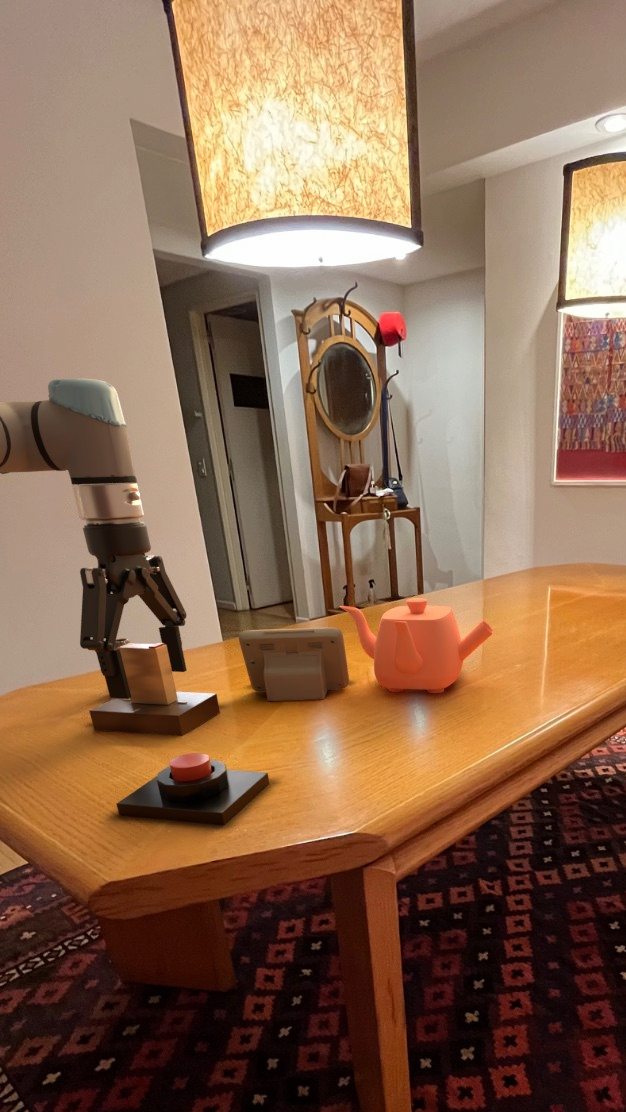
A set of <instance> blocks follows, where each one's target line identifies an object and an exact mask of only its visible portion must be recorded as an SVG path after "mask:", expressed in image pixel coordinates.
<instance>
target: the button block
mask: <svg viewBox="0 0 626 1112" xmlns="http://www.w3.org/2000/svg"><path fill="white" fill-rule="evenodd" d="M210 763H211V768H212V774H210V775H209V776H207V777H204V778H201V779H198V780H191V781H174V780H173V778H172V774H171V769H170V765H169V766H167V767H165V768H163V769H162V770H161V771H158V773H157V775H156V776H155V777H153V778H152V779H151V780H149V781H148V782H146V783H144V784H143V785H142V786H140V787H139V788H137V789H136V790H134V791H133V792H131V793H130V794H128V795H127V796H126V797H124V798H122V799H121V800H119V801H118V802H116V809H117V811H118V816H119V817H129V818H140V819H150V820H159V821H160V820H161V821H170V822H171V821H172V822H181V823H183V822H184V823H193V824H204V825H216V826H226V825H227V824H228V823H229V822H230V821H231V820H232V819H233V818H234V817H236V816H237V814H239V813H240V812H241V811H242V810H243V809H244V808H245V807H246V806H247V805H249V804H250V803H251V802H252V801H253V800H255V798H256V797H257V796H258V795H259V794H261V793H262V791H264V790H265V789H266V788H267V787H268V786H269V785H270V778H269V773H268V772H264V771H252V770H237V769H227V764H226V763H225V762H222V761H219V760H217V759H210Z"/></svg>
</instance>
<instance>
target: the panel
mask: <svg viewBox="0 0 626 1112" xmlns="http://www.w3.org/2000/svg"><path fill="white" fill-rule="evenodd" d="M176 693H177V698H178V700H176V701H174V702H172V703H170V704H169V705H162V704H143V703H131V700H130V698H129V699H117V698H112V699H111V700H108V701H106V702H104V703H102V704H100V705H98V706H96V707H94V708H92V709H89V710H88V712H89V715H90V718H91V722H92V726H93V730H94V731H95V732H97V731H98V732H114V733H128V734H129V733H130V734H147V735H149V734H150V735H162V736H163V735H164V736H177V737H178V736H180V737H184V736H185V735H187V734H188V733H190V732H192V731H193V730H195V729H197V728H198V727H200V726H201V725H202V724H204V723H206V722H208V721H209V720H211V719H212V718H214V717H215V716H218V714H220V713H221V709H220V705H219V698H218V694H217V693H213V692H192V691H176Z"/></svg>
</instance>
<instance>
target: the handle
mask: <svg viewBox="0 0 626 1112" xmlns="http://www.w3.org/2000/svg"><path fill="white" fill-rule="evenodd" d="M118 649H120V652H121V656H122V660H123V664H124V669H125V673H126V677H127V681H128V685H129V689H130V693H131V698H130V700H131V703H143V704H162V705H169V704H170V703H172V702H174V701H176V700H178V698H177V693H176V692H177V688H176V683H175V679H174V674H173V672H172V669H171V664H170V660H169V655H168V650H167V645H165V644H164V643H162V642H157V643H133V642H130V643H129V644H126V645H123V646H121V647H118Z"/></svg>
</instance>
